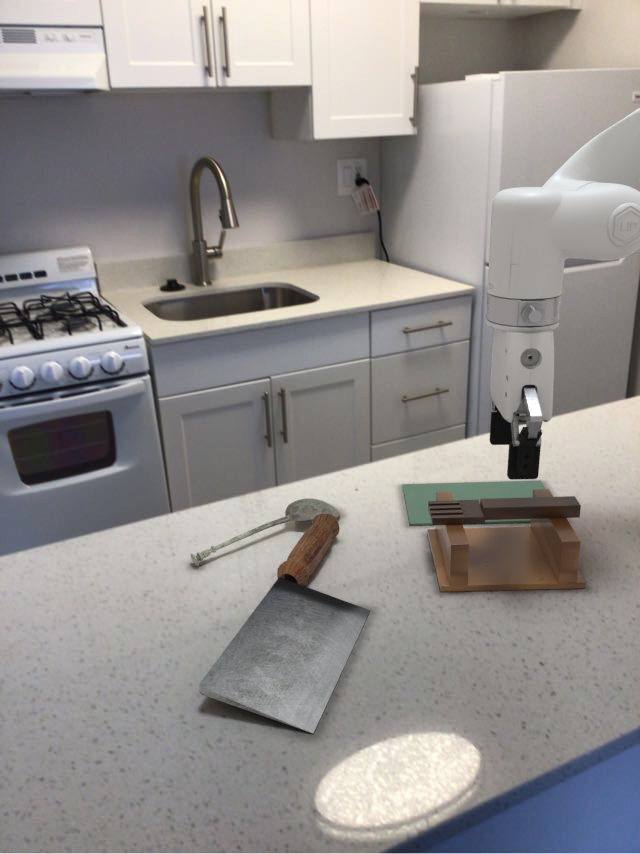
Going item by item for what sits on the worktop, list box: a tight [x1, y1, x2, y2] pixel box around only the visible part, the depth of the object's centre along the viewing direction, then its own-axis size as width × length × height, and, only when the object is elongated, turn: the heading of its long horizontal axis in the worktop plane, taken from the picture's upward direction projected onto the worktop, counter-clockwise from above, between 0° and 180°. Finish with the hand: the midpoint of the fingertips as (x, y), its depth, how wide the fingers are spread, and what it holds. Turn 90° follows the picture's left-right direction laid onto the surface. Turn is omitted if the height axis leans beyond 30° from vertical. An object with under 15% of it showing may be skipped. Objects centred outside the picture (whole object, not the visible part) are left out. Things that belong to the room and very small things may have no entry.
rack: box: [426, 488, 587, 593], centre depth 89 cm, size 16×13×6 cm
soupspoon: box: [190, 497, 341, 567], centre depth 97 cm, size 22×3×7 cm
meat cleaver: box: [198, 514, 371, 734], centre depth 81 cm, size 34×11×4 cm, turn 162°
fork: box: [428, 495, 582, 526], centre depth 88 cm, size 17×4×2 cm, turn 89°
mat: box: [401, 479, 546, 526], centre depth 104 cm, size 20×12×1 cm, turn 89°
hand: (512, 460), depth 85 cm, fingers open, 9 cm apart
